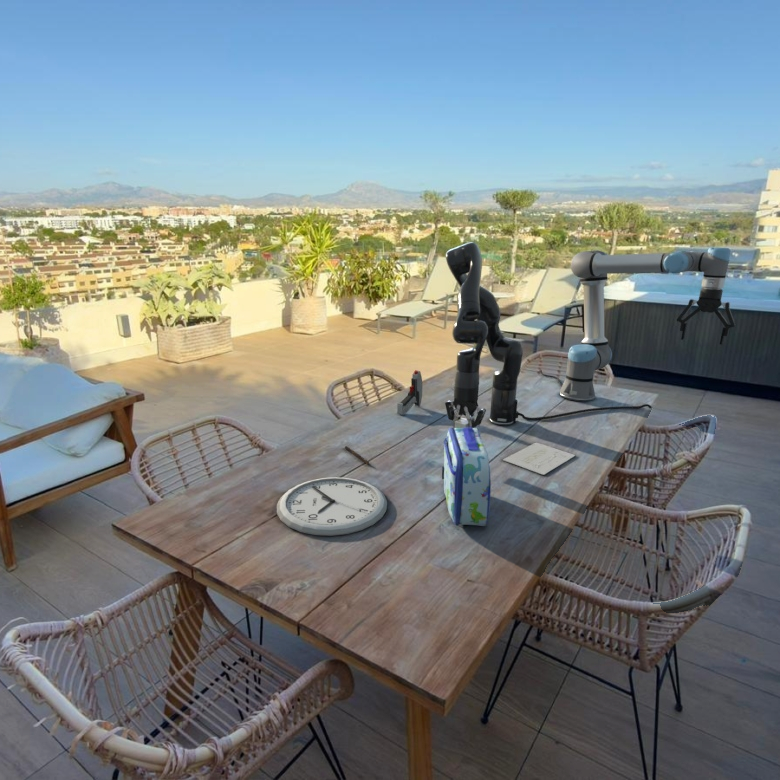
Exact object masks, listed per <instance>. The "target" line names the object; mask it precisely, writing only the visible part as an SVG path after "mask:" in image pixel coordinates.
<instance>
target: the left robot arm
mask: <svg viewBox="0 0 780 780" xmlns="http://www.w3.org/2000/svg"><path fill="white" fill-rule="evenodd" d="M445 261H446V264H447V266H448V269H449V271H450V273H451V274H452V276H453V278H454V279H455V281H456V283H457V285H458V286H459V287H460V288H459V290H458V292H457V297H456V309H457V312H456V313H457V314H456V319H455V321H454V324H453V328H452V332H451V336H452V338H453V339H452V340H454V342H456V343H457V344H473V345H472V347H470V348H468V349H463V350H459V351H458V352H457V355H456V367H455V375H454V384H455V385H454V384H453V385H454V386H453V387H454V389H453V400H450V399H449V400H448V401H445V402H444V405H445V410H446V413H447V418H448V420H449V421H452V422H453V427H452V428H453V429H454V427H455V421H457V420H459V419H461V418H462V416H465V418H466V419H467V420H468V425H469V426H468V427H472V428H477V427H478V426H479V425H481V424H482V421H483V419H484V417H485V414H486V412H487V409H486V408H485V407H484V408H482V407H480V406H479V403H478V399H479V389H480V363H481V356H482V351H483V348H484V345H485V343H486V345H487V347H488V351H489V353H490V355H491V357H492V358H493V359H494V360H495V361H496V362H501V363H503V365H502V369H497V370H495V371H494V372H493V374H492V388H491V399H490V410H489V411H490V413H489V414H490V415H489V422H490V423H491V424H494V425H497V426H511V425H513V424H516V423H517V419H519V416H520V417H521V418H522V419H524V420H527V421H539V420H540V421H541V420H550V419H554V418H561V417H564V416H570V415H575V414H580V413H588V412H592V411H593V412H595V411H605V410H637V409H642V408H645V407H648V408H649V409H652V406H651V405H650V404H648V403H644V404H641V405H635V406H634V405H631V406H606V407H605V406H604V407H593V408H586V409H581V410H575V411H569V412H564V413H563V412H562V413H559V414H553V415H548V416H547V415H546V416H537V417H528V416H525V415H524V414H523V413H521V412H519V411H518V399H517V388H518V378H519V376H520V372H521V368H522V367H521V366H522V360H523V355H524V354H523V353H524V349H523V344H522V343H521V342H520V341H518V340H516V339H513V338H512V339H511V338H507V337H506V336H504V335H503V333H502V331H501V328H500V320H501V309H500V306H499V304H498V301H497V299H496V297H495V295H494V294H493V293H492V292H491V291H490V290H488V288H487V289H486V288H485V287H483V286H482V285H481V279H482V270H483V257H482V252H481V249H480V247H479V246H478V244H477V243H475V242H474V241H471V242H466V243H464V244H462V245H459V246H456V247H454V248H451V249H449V250H448V251H446V253H445ZM475 413H476V414H475Z"/></svg>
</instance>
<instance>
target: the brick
mask: <svg viewBox="0 0 780 780" xmlns="http://www.w3.org/2000/svg"><path fill="white" fill-rule="evenodd" d="M468 426H469V425H468V420H467V419H466V417H461V419H459V420H457V421H455V427H454V426H453V427H454V428H466V427H468Z"/></svg>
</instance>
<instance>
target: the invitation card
mask: <svg viewBox="0 0 780 780" xmlns="http://www.w3.org/2000/svg"><path fill="white" fill-rule="evenodd" d="M576 456H577V455H576V454H573V453H570V452H567V451H565V450H561V449H558V448H555V447H552V446H549V445H546V444H543V443H539V442H534V443H532V444H529V445H528V446H526V447H524V448H522V449H520V450H518V451H516V452H514V453H512V454H510V455H509V456H507V457H505V458H503V459H502V461H503V462H506V463H509V464H511V465H514V466H518V467H520V468H523V469H525V470H528V471H531V472H534V473H536V474H539V475H541V476H545V475H547V474H548V473H550V472H552V471H554V469H556V468H558V467H559V466H561V465H563V464H564V463H566V462H568V461H570V460H571V459H572V458H574V457H576Z"/></svg>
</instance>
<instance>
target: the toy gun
mask: <svg viewBox="0 0 780 780" xmlns="http://www.w3.org/2000/svg"><path fill="white" fill-rule="evenodd" d="M411 376H412V377H411V378H410V379H411V381H410V383H411V386H409V391H408V392H407V395H406V396H405V397H404V398H403V399H402V400H401V401H399V402H397V405H396V406H397V407H396V408H397V409H396V410H397V415H401V416H404V415H405V414H406V413H407V412H408V411H409V410H411V409H412V407H413V406H415V407H418V408H421V405H422V399H423V377H422V376H423V375H422V373H421V370H416V369H415V370H414V371H413V373H412V375H411Z"/></svg>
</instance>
